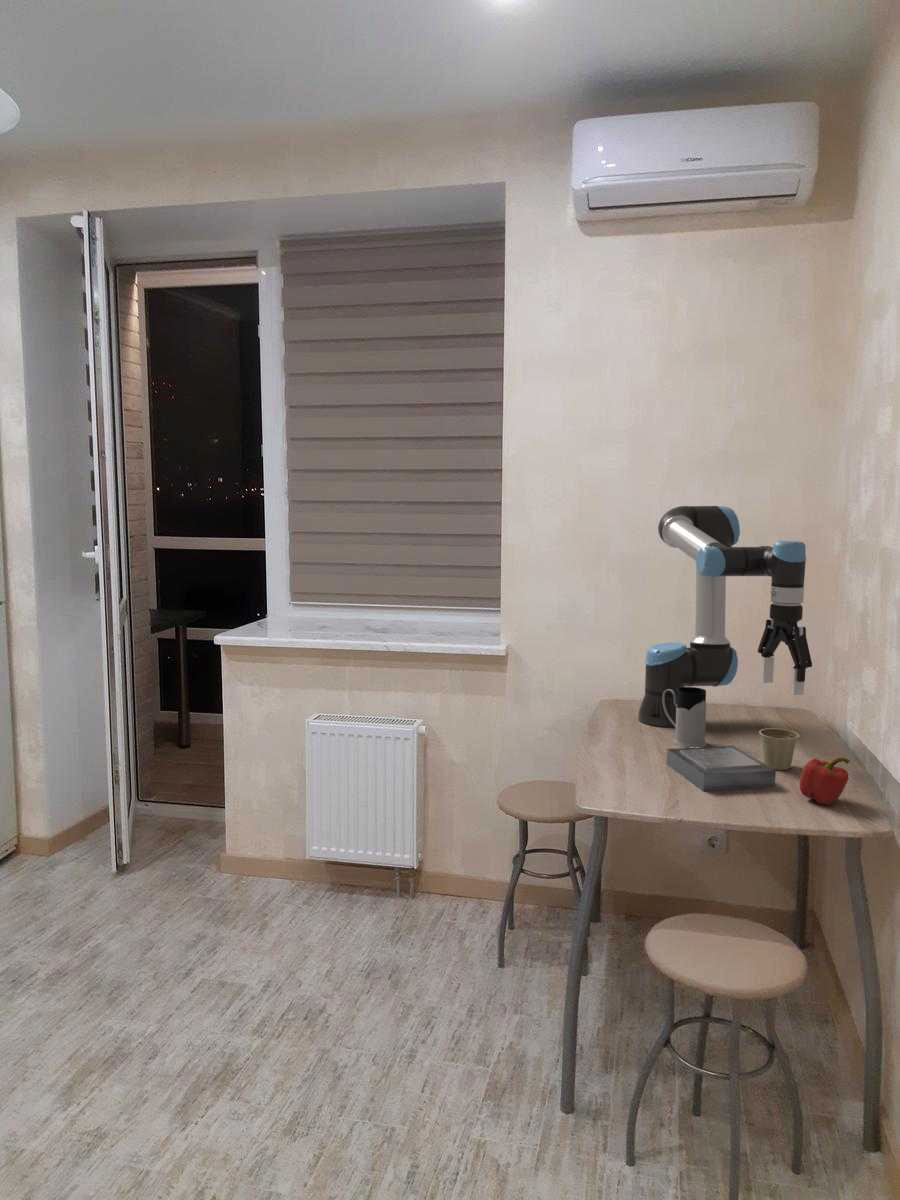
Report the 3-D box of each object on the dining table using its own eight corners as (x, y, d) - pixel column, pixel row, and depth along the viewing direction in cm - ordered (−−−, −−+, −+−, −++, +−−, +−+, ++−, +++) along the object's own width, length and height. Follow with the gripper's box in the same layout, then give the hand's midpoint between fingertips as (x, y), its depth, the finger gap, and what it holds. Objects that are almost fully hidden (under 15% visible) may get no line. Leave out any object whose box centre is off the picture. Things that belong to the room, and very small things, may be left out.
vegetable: (836, 792, 197) (839, 750, 196) (859, 809, 187) (862, 764, 186) (789, 792, 197) (792, 750, 196) (810, 809, 187) (812, 764, 186)
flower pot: (772, 773, 210) (774, 739, 209) (749, 762, 219) (751, 729, 218) (805, 770, 213) (807, 737, 212) (781, 759, 222) (783, 727, 221)
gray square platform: (666, 764, 217) (667, 747, 217) (732, 760, 220) (733, 743, 220) (703, 791, 198) (704, 772, 197) (774, 786, 201) (775, 768, 200)
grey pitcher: (692, 749, 230) (694, 695, 228) (651, 737, 241) (653, 685, 239) (712, 744, 235) (715, 690, 233) (671, 732, 246) (673, 681, 244)
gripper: (746, 598, 223) (742, 678, 225) (801, 610, 198) (796, 700, 201) (772, 597, 224) (768, 677, 226) (831, 610, 199) (825, 699, 202)
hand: (781, 688), depth 214 cm, fingers open, 13 cm apart
